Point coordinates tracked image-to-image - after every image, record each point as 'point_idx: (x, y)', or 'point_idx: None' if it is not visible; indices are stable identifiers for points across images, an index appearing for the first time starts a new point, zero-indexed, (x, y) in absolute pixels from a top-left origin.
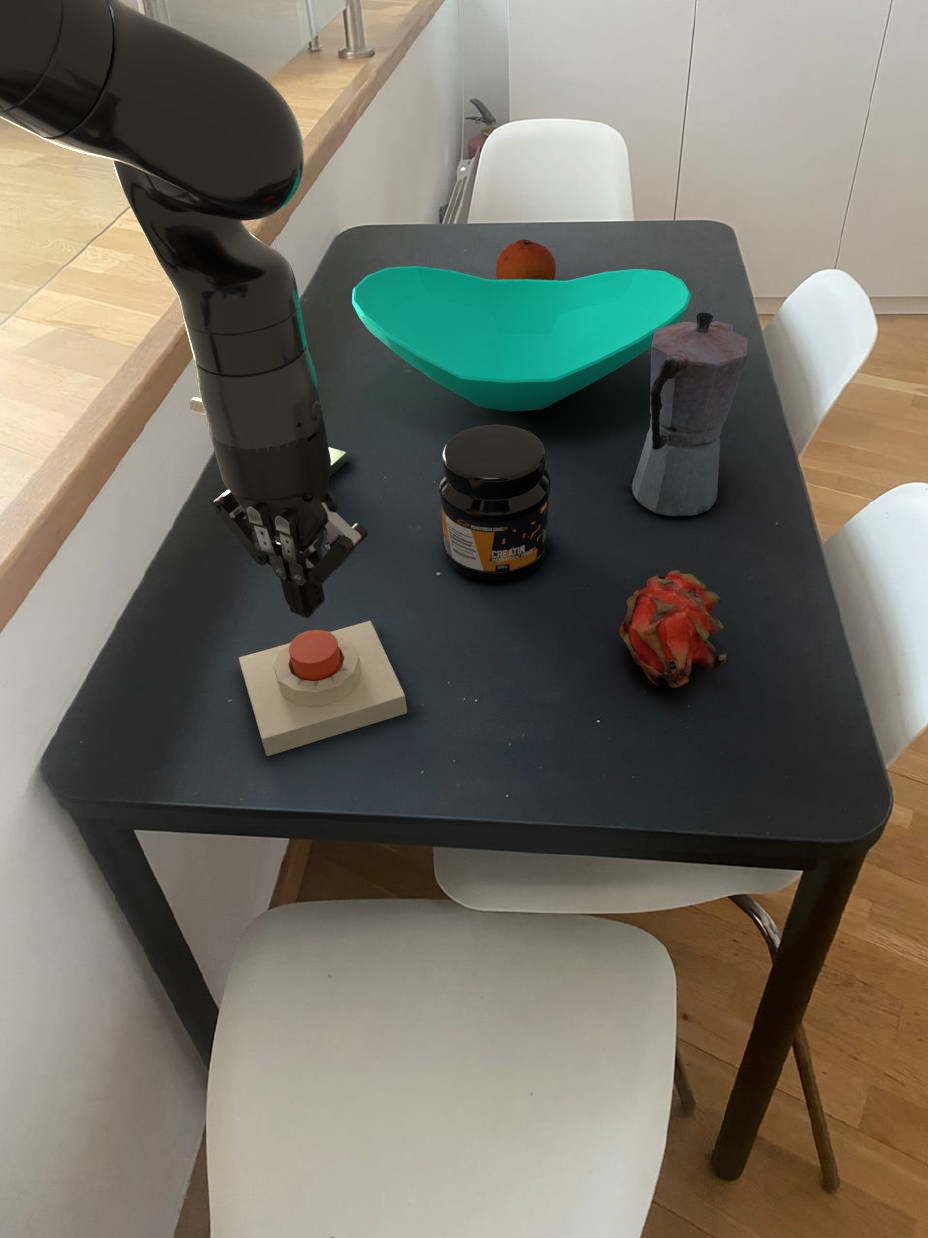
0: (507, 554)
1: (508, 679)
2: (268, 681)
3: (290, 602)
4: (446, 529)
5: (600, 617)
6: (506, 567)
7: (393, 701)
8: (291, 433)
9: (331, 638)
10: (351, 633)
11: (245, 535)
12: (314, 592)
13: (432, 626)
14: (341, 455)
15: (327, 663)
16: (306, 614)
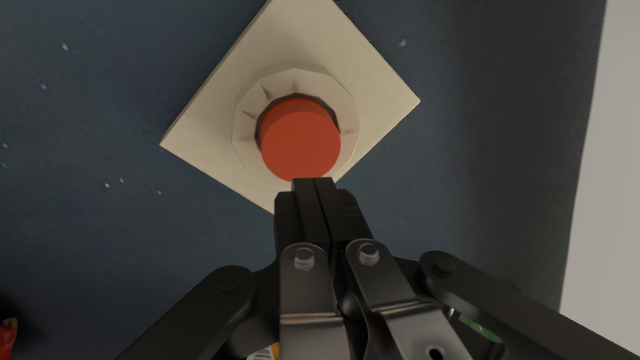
0: None
1: (99, 226)
2: (357, 81)
3: (332, 193)
4: (276, 355)
5: (84, 326)
6: None
7: (170, 130)
8: None
9: (284, 174)
10: None
11: (524, 334)
12: (276, 237)
13: (237, 246)
14: None
15: (263, 131)
16: (293, 184)
